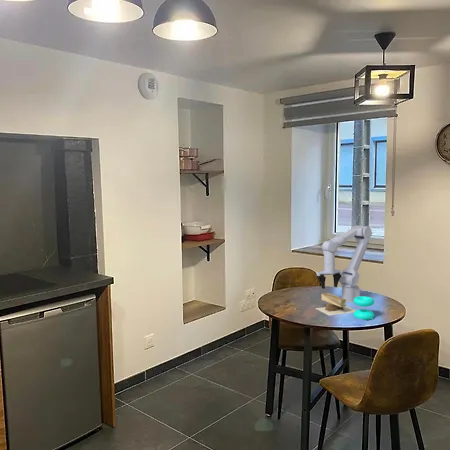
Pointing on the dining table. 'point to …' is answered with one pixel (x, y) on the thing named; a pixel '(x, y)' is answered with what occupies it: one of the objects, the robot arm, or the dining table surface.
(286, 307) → the dining table surface
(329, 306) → the block
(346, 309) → the board
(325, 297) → the bar
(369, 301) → the donuts
